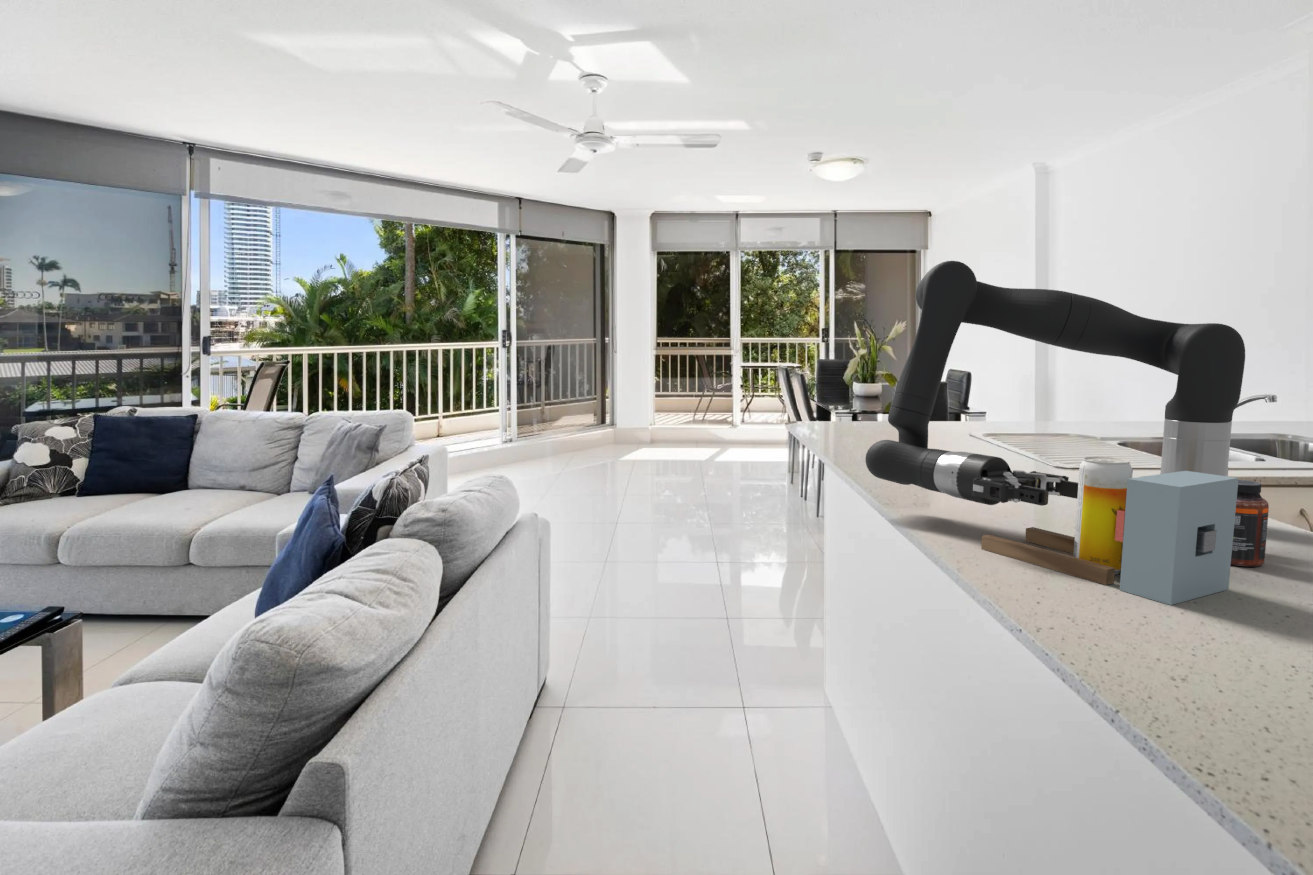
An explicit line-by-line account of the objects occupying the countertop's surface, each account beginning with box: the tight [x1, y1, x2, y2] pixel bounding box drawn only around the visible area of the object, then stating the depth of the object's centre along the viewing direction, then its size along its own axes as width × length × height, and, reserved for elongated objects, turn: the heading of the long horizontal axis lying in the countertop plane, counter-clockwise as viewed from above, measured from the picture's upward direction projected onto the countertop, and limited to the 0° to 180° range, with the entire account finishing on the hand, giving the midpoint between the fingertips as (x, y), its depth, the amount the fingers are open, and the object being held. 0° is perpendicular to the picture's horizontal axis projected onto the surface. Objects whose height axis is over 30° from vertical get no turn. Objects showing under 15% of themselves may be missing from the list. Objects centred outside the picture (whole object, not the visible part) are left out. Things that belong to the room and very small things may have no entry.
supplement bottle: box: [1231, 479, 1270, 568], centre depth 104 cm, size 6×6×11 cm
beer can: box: [1072, 456, 1134, 576], centre depth 100 cm, size 6×6×15 cm
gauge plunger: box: [1115, 509, 1217, 552], centre depth 93 cm, size 4×10×4 cm, turn 26°
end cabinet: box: [1119, 471, 1240, 606], centre depth 92 cm, size 12×6×14 cm, turn 116°
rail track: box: [980, 526, 1116, 586], centre depth 106 cm, size 11×19×2 cm, turn 26°
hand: (1066, 495), depth 105 cm, fingers open, 8 cm apart
